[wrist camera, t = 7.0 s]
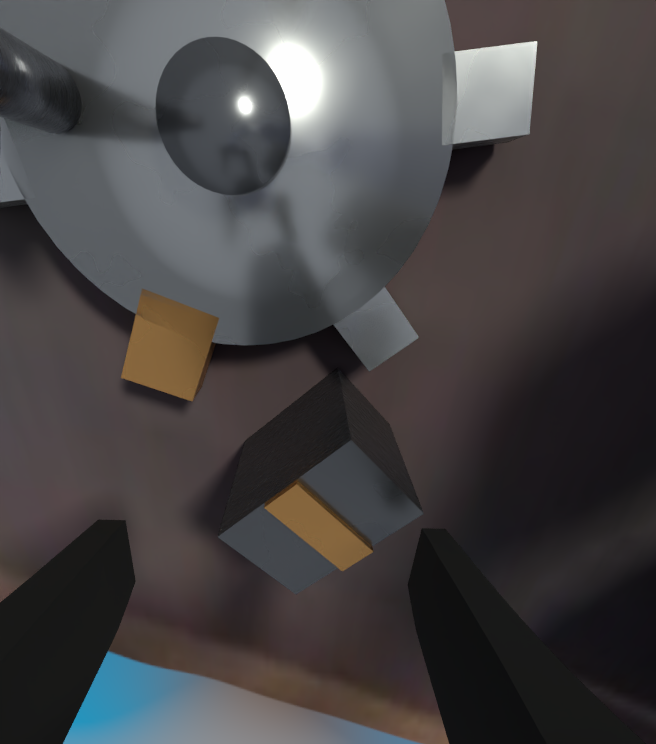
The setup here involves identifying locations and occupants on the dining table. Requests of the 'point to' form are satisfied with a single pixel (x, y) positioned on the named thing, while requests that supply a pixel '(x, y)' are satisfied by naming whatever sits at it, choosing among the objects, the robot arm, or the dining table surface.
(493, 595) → the robot arm
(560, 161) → the dining table surface
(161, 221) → the sprocket
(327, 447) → the banded cube
